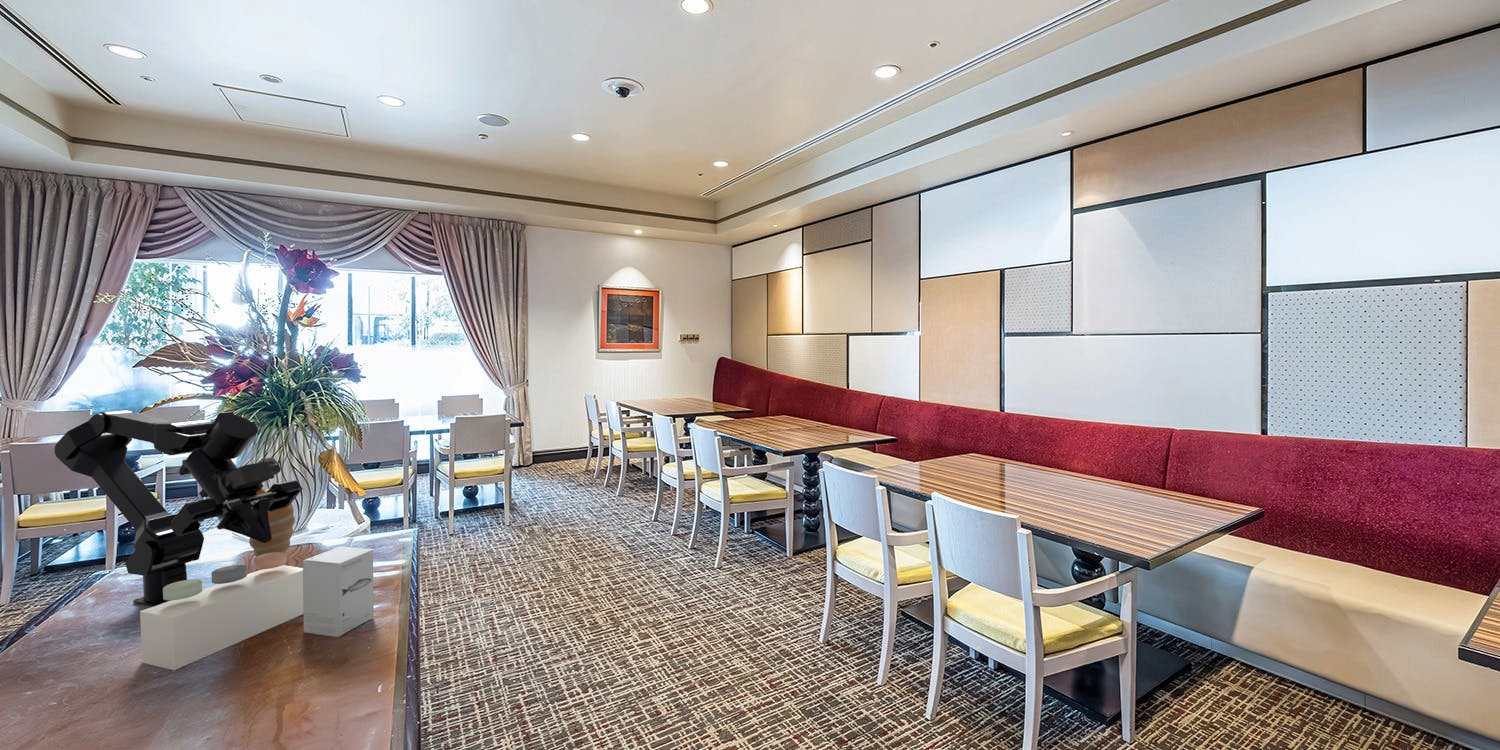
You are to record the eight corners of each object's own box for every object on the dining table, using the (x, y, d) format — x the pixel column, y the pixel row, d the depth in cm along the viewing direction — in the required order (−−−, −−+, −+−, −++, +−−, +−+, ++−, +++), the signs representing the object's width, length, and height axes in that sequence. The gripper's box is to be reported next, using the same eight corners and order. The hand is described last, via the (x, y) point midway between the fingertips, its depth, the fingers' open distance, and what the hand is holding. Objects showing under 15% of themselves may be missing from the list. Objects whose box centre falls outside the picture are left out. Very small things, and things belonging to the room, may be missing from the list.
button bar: (141, 662, 90) (140, 611, 89) (278, 606, 109) (277, 564, 108) (174, 670, 88) (172, 617, 87) (307, 612, 107) (306, 568, 107)
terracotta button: (247, 567, 103) (247, 559, 103) (274, 558, 107) (274, 550, 107) (266, 570, 102) (266, 562, 102) (292, 561, 106) (292, 553, 106)
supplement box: (339, 638, 98) (337, 563, 97) (302, 633, 99) (300, 559, 99) (375, 618, 105) (374, 548, 105) (340, 613, 107) (339, 545, 106)
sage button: (155, 598, 91) (155, 588, 91) (189, 586, 95) (189, 577, 95) (175, 602, 90) (175, 592, 89) (209, 590, 94) (208, 581, 94)
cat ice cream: (277, 559, 132) (275, 479, 131) (306, 562, 130) (304, 481, 129) (235, 574, 123) (233, 489, 122) (266, 577, 122) (264, 491, 121)
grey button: (204, 581, 97) (204, 572, 97) (234, 572, 101) (234, 563, 101) (224, 585, 96) (223, 576, 96) (253, 575, 100) (253, 566, 100)
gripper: (180, 455, 96) (234, 527, 94) (293, 438, 114) (341, 498, 112) (147, 500, 98) (199, 571, 96) (263, 476, 116) (309, 535, 114)
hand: (268, 541), depth 105 cm, fingers closed
